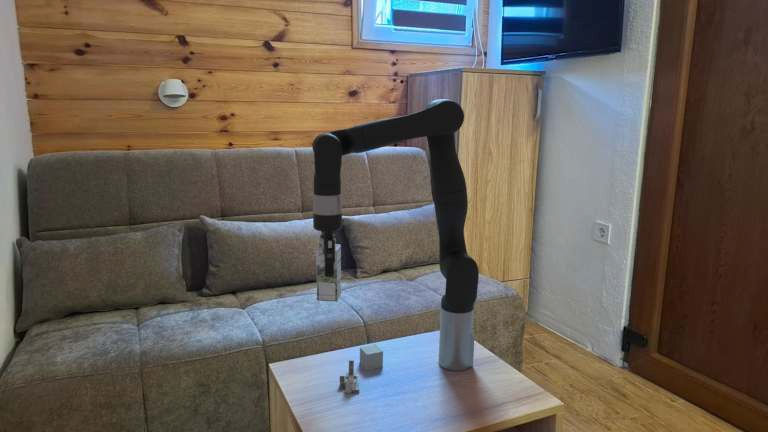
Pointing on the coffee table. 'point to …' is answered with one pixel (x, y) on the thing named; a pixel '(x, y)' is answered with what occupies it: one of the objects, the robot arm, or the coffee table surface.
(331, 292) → the syrup box
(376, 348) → the grey block
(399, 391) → the coffee table surface
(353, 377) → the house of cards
